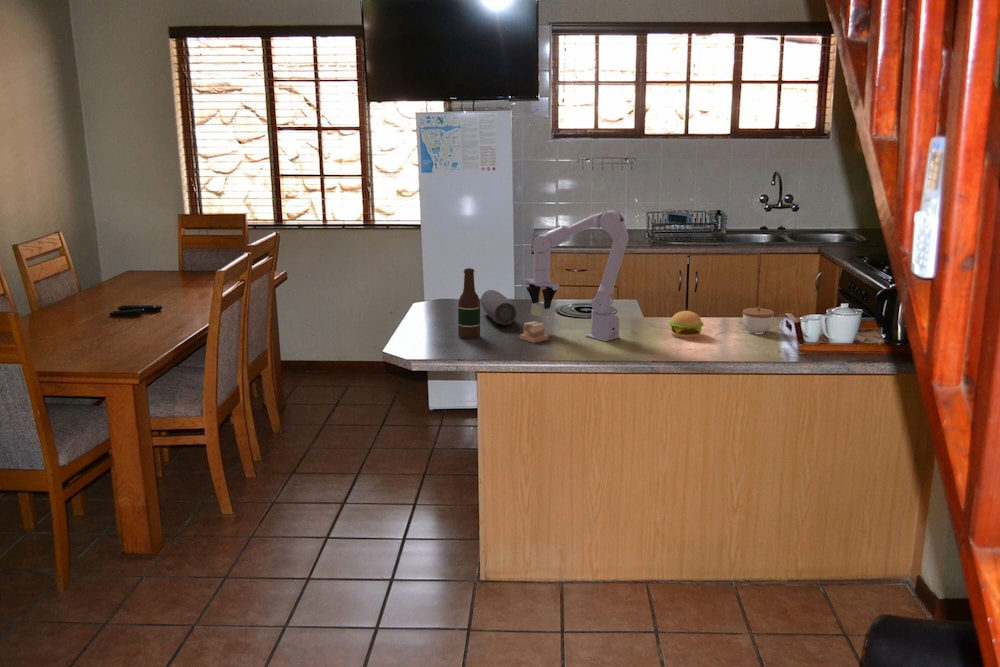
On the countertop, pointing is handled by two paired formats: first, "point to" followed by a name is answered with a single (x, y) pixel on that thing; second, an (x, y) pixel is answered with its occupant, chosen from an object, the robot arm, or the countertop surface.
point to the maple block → (533, 329)
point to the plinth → (534, 338)
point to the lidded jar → (757, 319)
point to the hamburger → (686, 325)
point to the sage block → (540, 310)
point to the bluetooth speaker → (498, 307)
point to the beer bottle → (469, 308)
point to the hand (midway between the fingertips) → (541, 307)
